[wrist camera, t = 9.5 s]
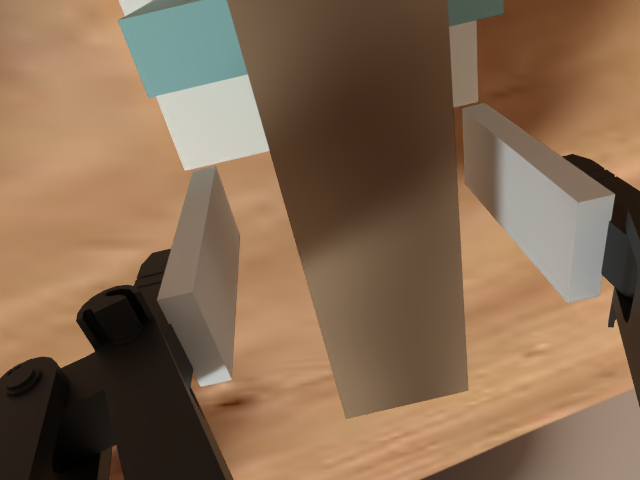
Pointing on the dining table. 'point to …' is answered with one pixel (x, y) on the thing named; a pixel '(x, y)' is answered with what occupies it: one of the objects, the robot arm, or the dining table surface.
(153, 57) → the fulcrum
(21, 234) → the dining table surface
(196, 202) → the robot arm
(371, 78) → the batten
